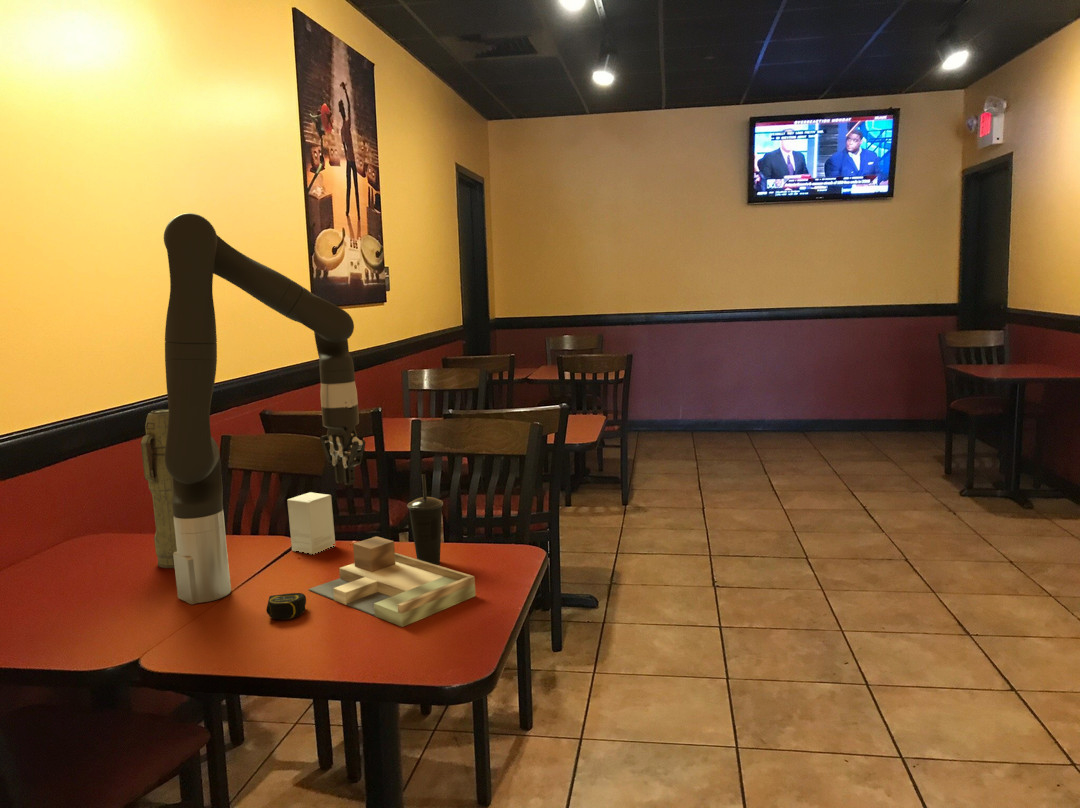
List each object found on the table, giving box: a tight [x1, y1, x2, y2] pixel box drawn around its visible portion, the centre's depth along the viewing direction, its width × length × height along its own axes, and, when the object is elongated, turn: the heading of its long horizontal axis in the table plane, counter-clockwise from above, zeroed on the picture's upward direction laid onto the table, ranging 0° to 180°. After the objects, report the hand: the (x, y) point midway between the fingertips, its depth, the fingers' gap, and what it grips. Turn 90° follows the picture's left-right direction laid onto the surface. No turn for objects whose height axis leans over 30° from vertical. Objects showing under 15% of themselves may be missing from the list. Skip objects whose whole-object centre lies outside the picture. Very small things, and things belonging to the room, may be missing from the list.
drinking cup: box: [406, 473, 444, 566], centre depth 176 cm, size 8×8×20 cm
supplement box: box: [287, 491, 336, 555], centre depth 191 cm, size 7×7×13 cm
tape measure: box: [266, 592, 307, 620], centre depth 152 cm, size 7×7×4 cm
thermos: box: [140, 408, 177, 569], centre depth 183 cm, size 9×12×35 cm
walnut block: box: [352, 536, 396, 572], centre depth 170 cm, size 6×6×5 cm
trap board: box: [308, 552, 476, 628], centre depth 161 cm, size 18×30×4 cm, turn 48°
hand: (345, 483), depth 174 cm, fingers open, 2 cm apart
